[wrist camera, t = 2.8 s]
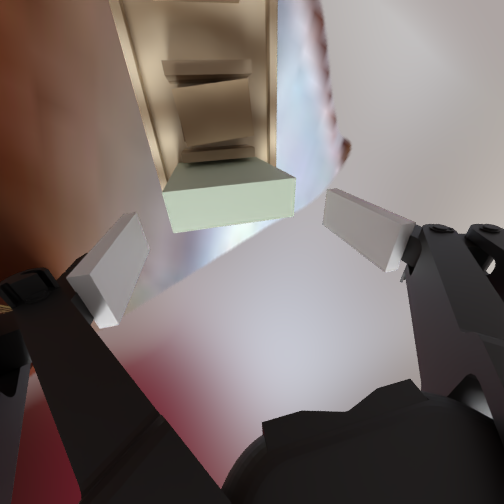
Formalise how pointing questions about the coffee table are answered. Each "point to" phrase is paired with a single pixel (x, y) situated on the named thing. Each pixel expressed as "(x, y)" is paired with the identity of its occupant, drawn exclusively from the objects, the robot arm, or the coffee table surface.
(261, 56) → the rack
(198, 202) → the sage board
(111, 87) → the coffee table surface
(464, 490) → the robot arm
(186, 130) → the offcut oak
